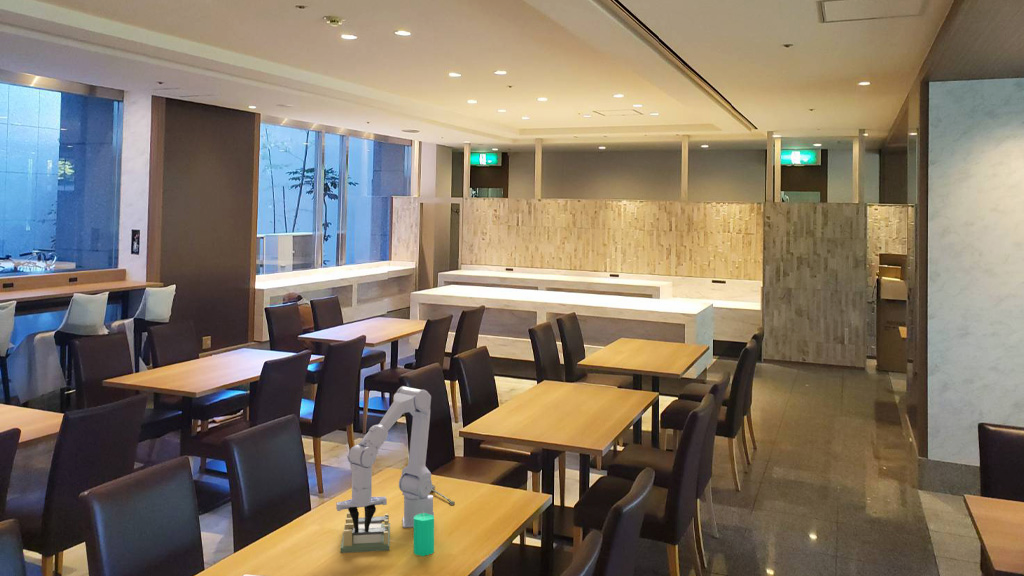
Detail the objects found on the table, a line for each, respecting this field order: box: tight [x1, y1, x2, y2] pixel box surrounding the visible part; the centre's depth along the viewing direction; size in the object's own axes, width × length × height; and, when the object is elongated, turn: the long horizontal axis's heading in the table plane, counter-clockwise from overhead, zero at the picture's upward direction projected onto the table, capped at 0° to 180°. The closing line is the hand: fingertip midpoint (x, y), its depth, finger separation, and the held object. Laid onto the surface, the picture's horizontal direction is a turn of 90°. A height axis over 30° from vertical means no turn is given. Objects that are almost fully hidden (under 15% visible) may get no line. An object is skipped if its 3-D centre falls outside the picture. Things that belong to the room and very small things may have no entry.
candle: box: [413, 513, 435, 557], centre depth 220 cm, size 6×6×12 cm
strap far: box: [358, 515, 388, 523], centre depth 232 cm, size 11×3×1 cm, turn 98°
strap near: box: [349, 527, 388, 535], centre depth 224 cm, size 11×3×1 cm, turn 99°
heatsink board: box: [340, 511, 391, 554], centre depth 228 cm, size 14×17×6 cm
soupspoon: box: [431, 484, 455, 506], centre depth 267 cm, size 22×3×7 cm
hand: (361, 530), depth 223 cm, fingers closed on strap near, 2 cm apart
